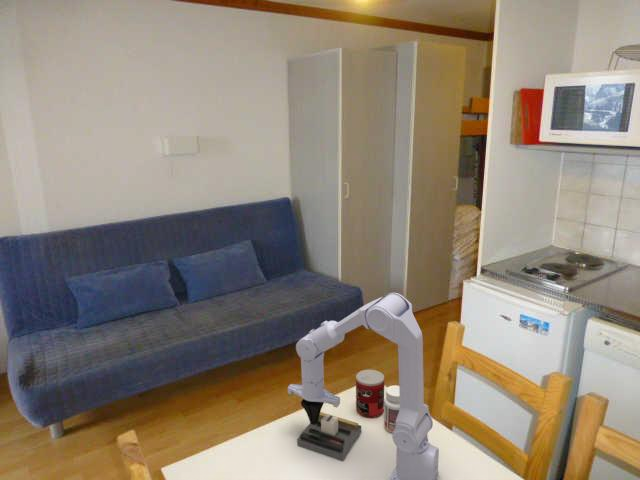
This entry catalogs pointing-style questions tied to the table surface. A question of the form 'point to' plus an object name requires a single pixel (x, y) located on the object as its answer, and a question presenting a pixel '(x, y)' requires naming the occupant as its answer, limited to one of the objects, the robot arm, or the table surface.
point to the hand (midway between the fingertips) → (314, 422)
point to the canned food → (370, 393)
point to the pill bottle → (391, 407)
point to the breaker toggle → (329, 424)
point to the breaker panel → (330, 438)
